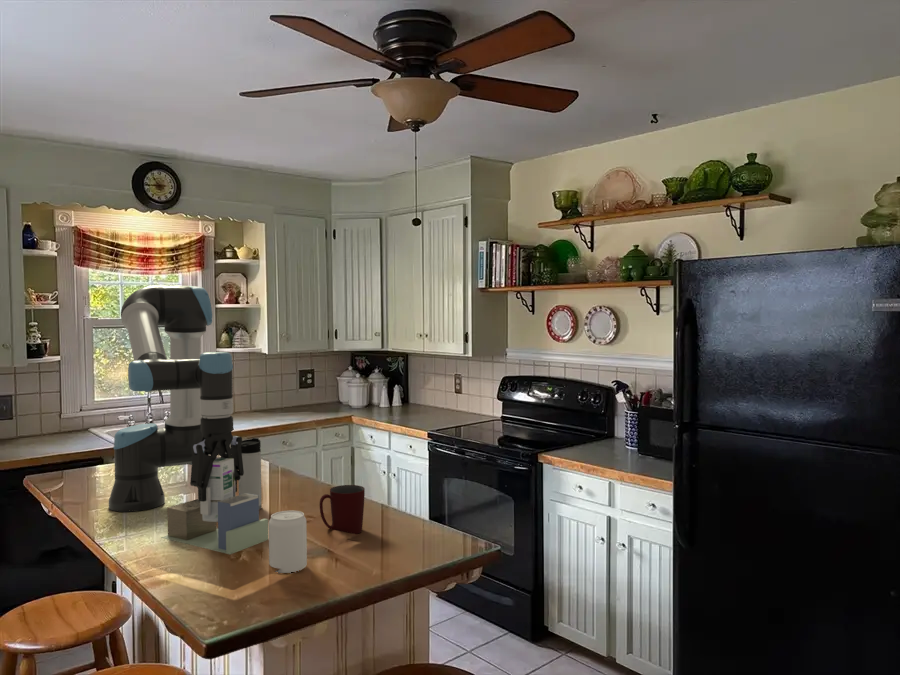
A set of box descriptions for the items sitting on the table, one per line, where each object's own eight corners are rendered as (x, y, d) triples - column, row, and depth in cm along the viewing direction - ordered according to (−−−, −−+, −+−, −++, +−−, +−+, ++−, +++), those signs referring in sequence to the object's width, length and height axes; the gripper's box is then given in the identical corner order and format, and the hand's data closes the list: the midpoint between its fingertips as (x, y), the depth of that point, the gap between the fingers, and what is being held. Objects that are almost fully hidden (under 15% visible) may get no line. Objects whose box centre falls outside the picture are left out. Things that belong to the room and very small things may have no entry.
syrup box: (223, 522, 167) (222, 462, 167) (201, 521, 169) (200, 461, 168) (235, 516, 173) (235, 457, 173) (214, 514, 174) (213, 456, 174)
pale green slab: (161, 543, 173) (160, 517, 173) (201, 530, 183) (200, 505, 183) (230, 560, 161) (229, 532, 160) (268, 545, 171) (268, 519, 171)
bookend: (167, 535, 174) (167, 507, 174) (197, 526, 182) (197, 499, 181) (186, 540, 170) (186, 511, 170) (216, 530, 178) (215, 502, 178)
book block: (218, 548, 165) (217, 501, 164) (247, 537, 172) (246, 493, 172) (230, 551, 163) (229, 504, 162) (259, 540, 170) (258, 495, 170)
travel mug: (266, 506, 205) (265, 438, 205) (253, 512, 199) (252, 442, 198) (248, 504, 207) (247, 437, 207) (234, 510, 201) (233, 441, 200)
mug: (328, 541, 174) (327, 497, 174) (313, 532, 181) (312, 489, 181) (371, 532, 181) (370, 490, 180) (355, 524, 188) (354, 483, 188)
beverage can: (272, 562, 159) (272, 510, 159) (308, 561, 160) (308, 509, 160) (266, 576, 151) (265, 520, 151) (304, 574, 152) (303, 519, 151)
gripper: (193, 422, 160) (195, 523, 160) (258, 412, 177) (259, 502, 177) (171, 420, 163) (173, 518, 164) (237, 410, 180) (238, 498, 181)
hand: (218, 510), depth 171 cm, fingers closed on syrup box, 7 cm apart
